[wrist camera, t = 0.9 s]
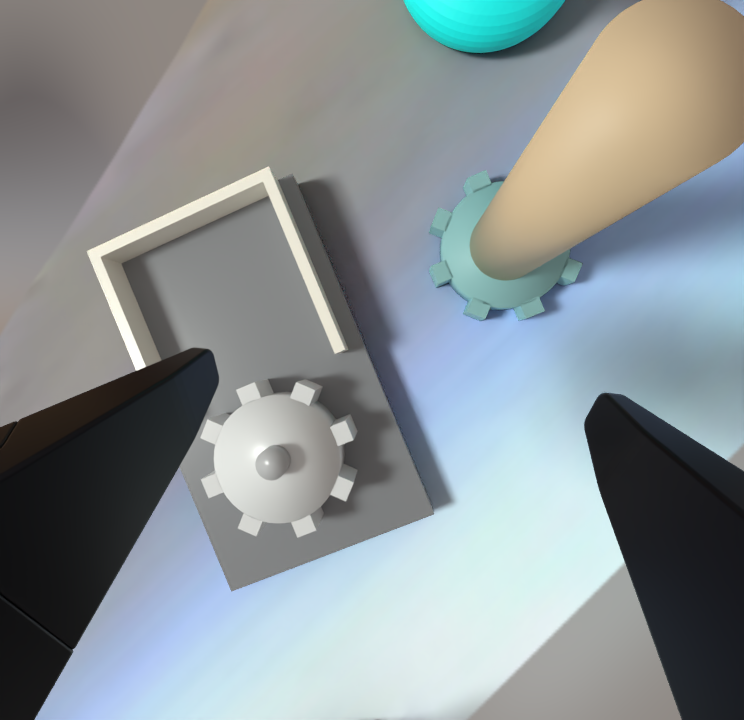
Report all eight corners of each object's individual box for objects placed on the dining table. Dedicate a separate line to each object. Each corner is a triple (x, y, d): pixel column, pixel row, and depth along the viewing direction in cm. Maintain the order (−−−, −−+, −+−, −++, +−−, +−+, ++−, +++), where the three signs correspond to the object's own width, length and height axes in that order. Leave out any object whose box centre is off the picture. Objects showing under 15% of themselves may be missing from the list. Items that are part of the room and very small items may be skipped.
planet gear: (596, 288, 21) (943, 180, 8) (459, 344, 21) (565, 333, 8) (540, 153, 21) (790, -184, 8) (405, 213, 21) (423, -6, 8)
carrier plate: (432, 505, 21) (440, 540, 17) (240, 578, 22) (206, 628, 18) (297, 183, 21) (275, 145, 17) (111, 269, 22) (50, 251, 18)
